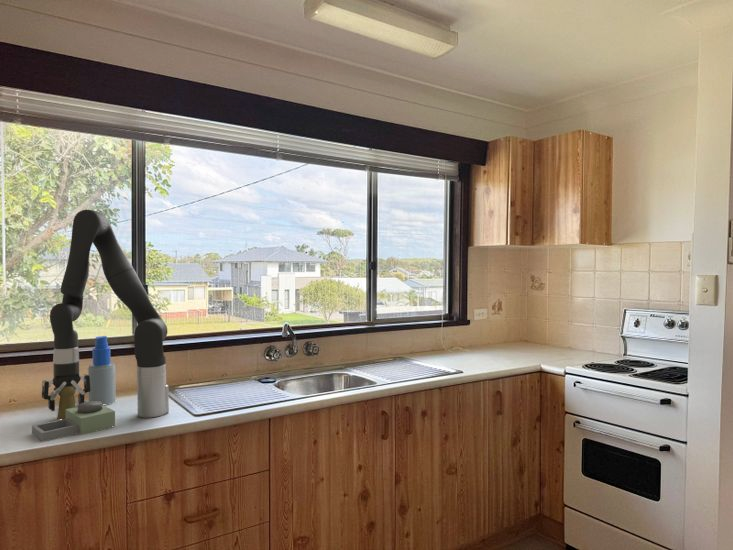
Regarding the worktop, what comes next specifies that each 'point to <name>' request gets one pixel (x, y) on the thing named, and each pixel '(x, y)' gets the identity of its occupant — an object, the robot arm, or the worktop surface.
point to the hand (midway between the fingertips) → (66, 407)
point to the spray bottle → (102, 373)
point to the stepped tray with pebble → (77, 421)
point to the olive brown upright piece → (66, 401)
